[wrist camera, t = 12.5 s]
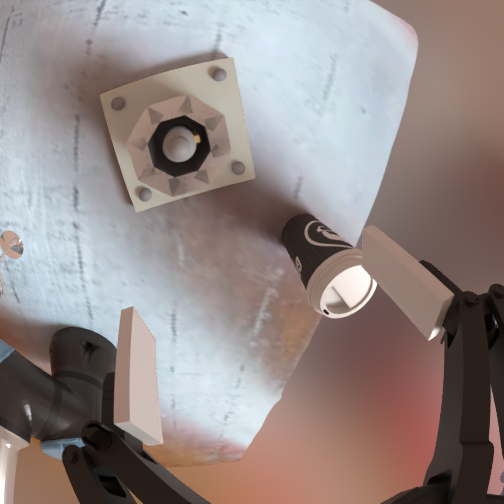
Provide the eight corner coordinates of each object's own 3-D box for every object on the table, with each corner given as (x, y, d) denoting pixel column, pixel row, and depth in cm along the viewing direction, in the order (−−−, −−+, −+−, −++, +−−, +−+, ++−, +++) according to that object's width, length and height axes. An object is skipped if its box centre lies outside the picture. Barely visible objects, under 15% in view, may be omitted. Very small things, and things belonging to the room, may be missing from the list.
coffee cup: (265, 217, 40) (307, 279, 28) (324, 196, 41) (383, 246, 29) (279, 267, 46) (317, 333, 33) (331, 246, 46) (381, 303, 34)
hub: (152, 183, 31) (146, 205, 25) (131, 112, 26) (118, 115, 20) (225, 162, 32) (237, 179, 26) (210, 89, 27) (218, 87, 21)
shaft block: (137, 208, 35) (124, 256, 25) (102, 94, 26) (66, 95, 16) (252, 175, 37) (284, 210, 27) (230, 58, 28) (256, 41, 18)
